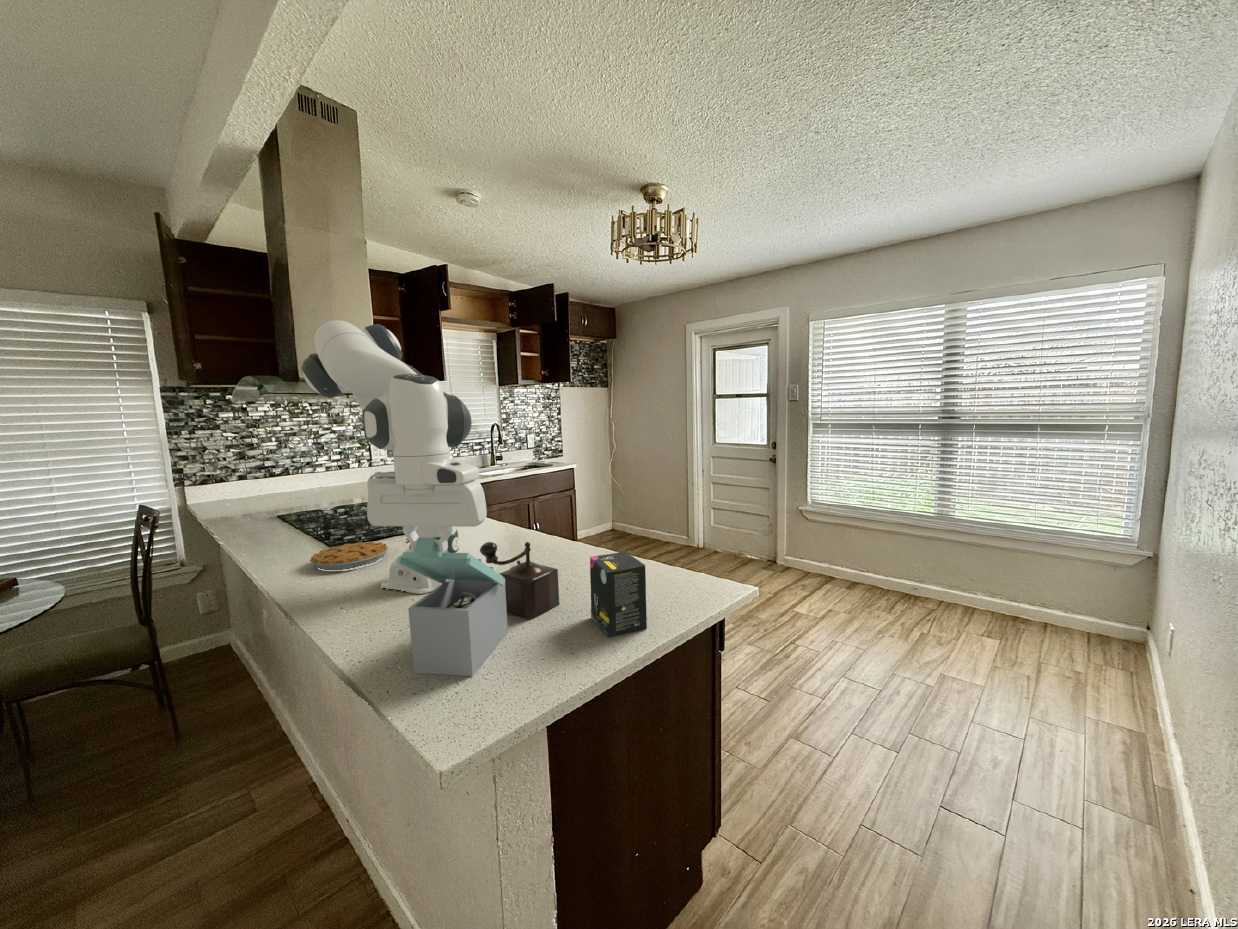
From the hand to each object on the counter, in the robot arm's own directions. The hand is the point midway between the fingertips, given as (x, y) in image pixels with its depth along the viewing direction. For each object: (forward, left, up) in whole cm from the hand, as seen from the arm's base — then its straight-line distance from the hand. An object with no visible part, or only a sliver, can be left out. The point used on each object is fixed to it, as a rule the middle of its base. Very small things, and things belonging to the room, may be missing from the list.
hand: (429, 550), depth 79 cm
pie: (-66, +60, -25) cm, 92 cm away
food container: (-1, +10, -24) cm, 26 cm away
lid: (0, +6, -6) cm, 9 cm away
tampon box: (+28, +25, -24) cm, 45 cm away
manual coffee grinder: (+4, +29, -24) cm, 38 cm away
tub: (-1, +10, -24) cm, 26 cm away
